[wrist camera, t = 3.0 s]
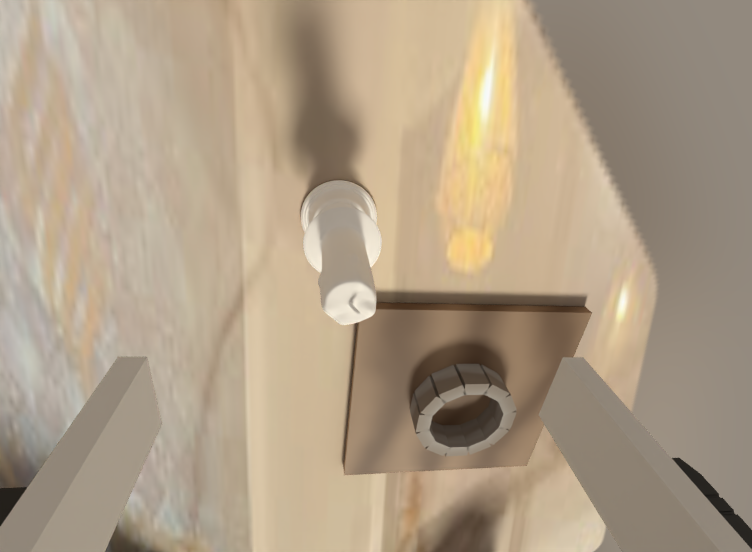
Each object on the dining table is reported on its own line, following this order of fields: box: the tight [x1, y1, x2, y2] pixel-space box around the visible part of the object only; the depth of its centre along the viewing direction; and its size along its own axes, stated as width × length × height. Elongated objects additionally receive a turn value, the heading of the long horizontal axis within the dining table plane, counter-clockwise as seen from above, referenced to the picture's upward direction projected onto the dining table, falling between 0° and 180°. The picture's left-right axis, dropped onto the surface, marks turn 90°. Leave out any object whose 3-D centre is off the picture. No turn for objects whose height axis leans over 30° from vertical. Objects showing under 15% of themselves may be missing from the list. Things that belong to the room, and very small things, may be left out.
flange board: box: [344, 303, 592, 475], centre depth 36 cm, size 20×20×4 cm
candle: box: [301, 180, 382, 325], centre depth 22 cm, size 5×5×12 cm
